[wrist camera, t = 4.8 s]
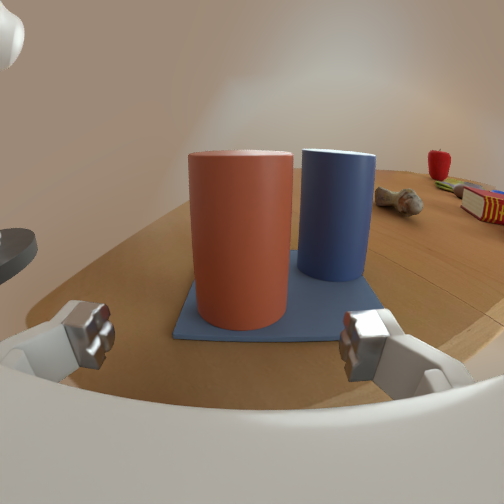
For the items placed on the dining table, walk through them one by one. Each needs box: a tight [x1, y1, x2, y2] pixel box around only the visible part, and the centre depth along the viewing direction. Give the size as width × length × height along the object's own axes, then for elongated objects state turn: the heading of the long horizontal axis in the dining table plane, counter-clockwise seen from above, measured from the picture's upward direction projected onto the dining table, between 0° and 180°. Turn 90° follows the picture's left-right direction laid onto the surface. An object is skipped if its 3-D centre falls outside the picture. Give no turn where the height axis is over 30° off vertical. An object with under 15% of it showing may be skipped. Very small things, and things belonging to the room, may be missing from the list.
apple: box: [428, 150, 451, 181], centre depth 107 cm, size 11×10×14 cm
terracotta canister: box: [188, 150, 293, 331], centre depth 19 cm, size 6×6×10 cm
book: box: [461, 186, 504, 225], centre depth 48 cm, size 18×13×5 cm
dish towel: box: [435, 179, 485, 192], centre depth 84 cm, size 18×24×3 cm
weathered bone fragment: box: [375, 187, 423, 217], centre depth 48 cm, size 5×5×15 cm
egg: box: [453, 184, 468, 198], centre depth 69 cm, size 6×6×4 cm
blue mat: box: [173, 250, 384, 342], centre depth 24 cm, size 14×14×1 cm
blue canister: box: [297, 149, 376, 282], centre depth 25 cm, size 6×6×10 cm
